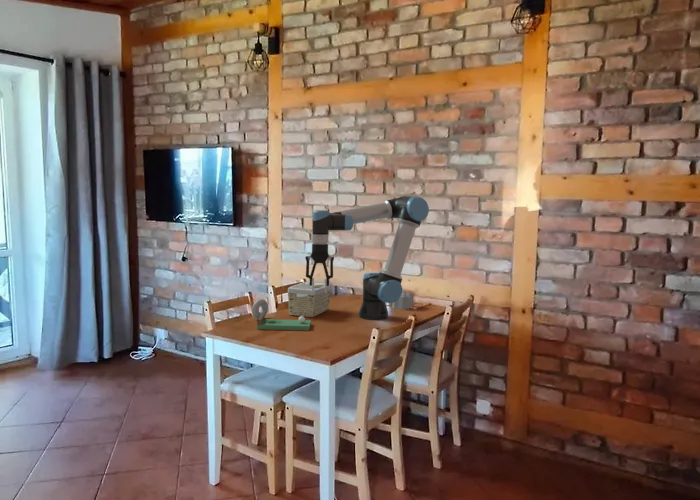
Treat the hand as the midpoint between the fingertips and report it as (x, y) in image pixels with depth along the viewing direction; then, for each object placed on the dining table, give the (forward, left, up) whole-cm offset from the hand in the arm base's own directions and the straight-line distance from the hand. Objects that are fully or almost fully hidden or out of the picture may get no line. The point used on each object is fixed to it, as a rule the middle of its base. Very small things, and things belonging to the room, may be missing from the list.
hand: (319, 292), depth 270 cm
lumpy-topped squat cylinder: (-45, -52, -17) cm, 71 cm away
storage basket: (+6, -32, -17) cm, 37 cm away
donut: (+30, -15, -17) cm, 38 cm away
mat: (+16, 0, -17) cm, 23 cm away
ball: (+8, 0, -13) cm, 15 cm away
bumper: (+27, 0, -15) cm, 31 cm away
